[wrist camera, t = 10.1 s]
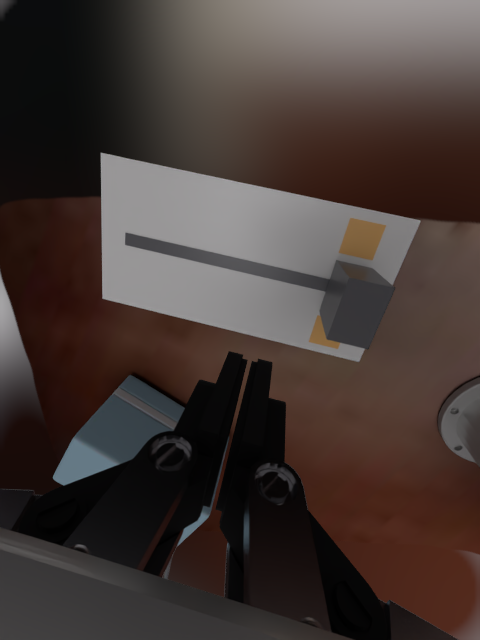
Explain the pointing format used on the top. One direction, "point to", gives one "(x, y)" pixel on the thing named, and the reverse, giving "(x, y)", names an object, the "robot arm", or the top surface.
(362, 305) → the fader knob
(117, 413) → the radio
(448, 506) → the top surface
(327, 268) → the panel
